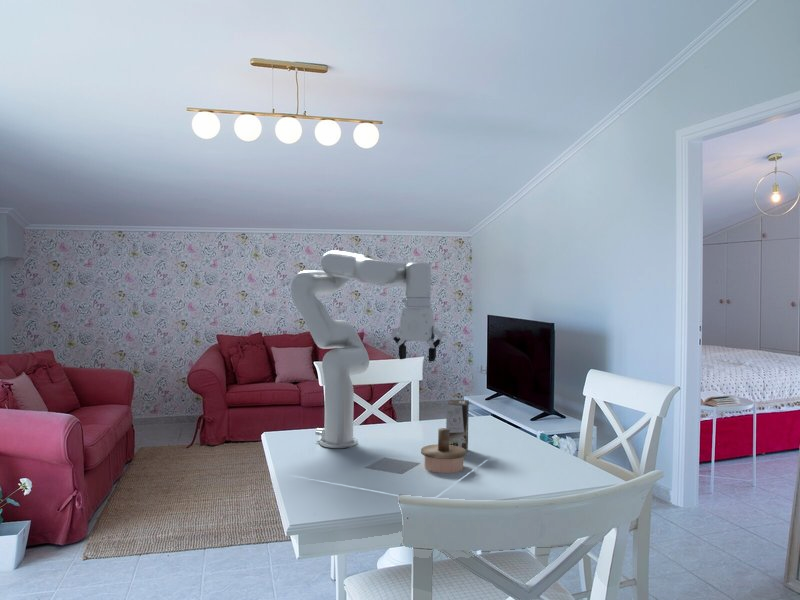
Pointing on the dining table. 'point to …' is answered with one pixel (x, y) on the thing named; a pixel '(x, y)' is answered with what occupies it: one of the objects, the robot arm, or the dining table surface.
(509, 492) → the dining table surface
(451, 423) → the coffee box
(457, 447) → the lid
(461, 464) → the bowl
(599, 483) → the dining table surface
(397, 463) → the mat
